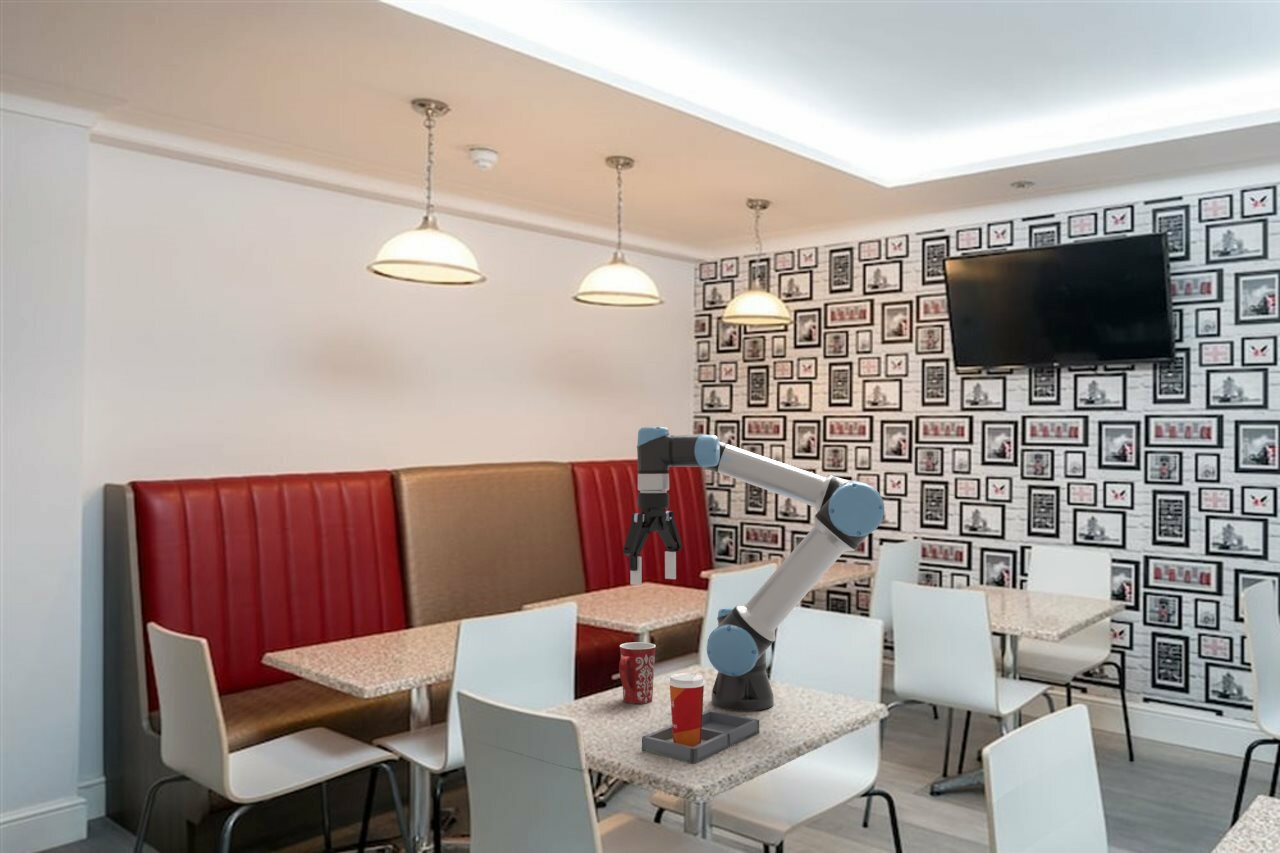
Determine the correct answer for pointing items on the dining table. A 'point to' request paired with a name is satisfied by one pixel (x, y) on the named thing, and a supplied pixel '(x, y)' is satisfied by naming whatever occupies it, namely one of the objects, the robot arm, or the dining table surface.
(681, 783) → the dining table surface
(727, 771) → the dining table surface
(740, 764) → the dining table surface
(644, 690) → the mug
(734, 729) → the cup carrier
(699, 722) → the paper cup
